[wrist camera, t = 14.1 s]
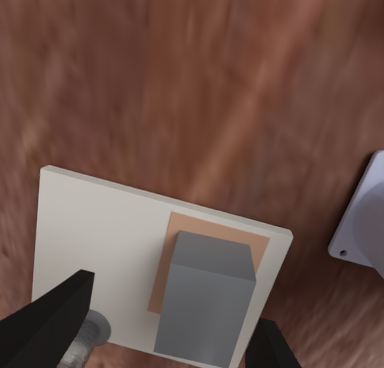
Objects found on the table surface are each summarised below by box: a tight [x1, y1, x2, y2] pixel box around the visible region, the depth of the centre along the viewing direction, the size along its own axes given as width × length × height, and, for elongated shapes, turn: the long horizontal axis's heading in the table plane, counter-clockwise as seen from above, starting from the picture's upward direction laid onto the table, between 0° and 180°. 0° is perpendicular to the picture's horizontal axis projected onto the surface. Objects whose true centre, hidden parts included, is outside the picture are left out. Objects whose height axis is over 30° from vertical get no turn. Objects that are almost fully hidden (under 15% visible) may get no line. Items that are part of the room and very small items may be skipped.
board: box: [31, 165, 293, 368], centre depth 23 cm, size 18×15×1 cm
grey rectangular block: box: [153, 230, 256, 368], centre depth 19 cm, size 5×7×4 cm
